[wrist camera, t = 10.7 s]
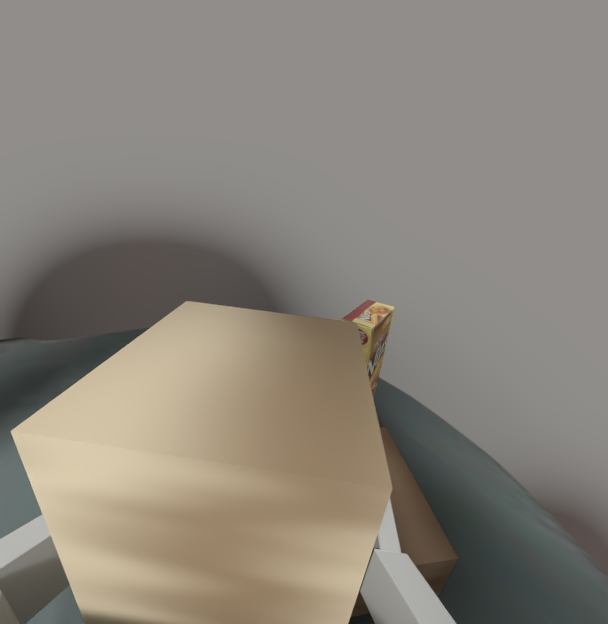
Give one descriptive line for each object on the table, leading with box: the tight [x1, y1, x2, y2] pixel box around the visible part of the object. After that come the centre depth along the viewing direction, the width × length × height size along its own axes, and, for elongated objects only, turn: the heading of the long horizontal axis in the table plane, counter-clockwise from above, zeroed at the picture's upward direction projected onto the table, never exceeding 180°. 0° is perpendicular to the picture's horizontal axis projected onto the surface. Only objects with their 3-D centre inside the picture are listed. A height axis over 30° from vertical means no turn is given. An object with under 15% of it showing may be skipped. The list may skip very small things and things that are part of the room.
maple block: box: [11, 301, 393, 624], centre depth 8 cm, size 5×5×11 cm
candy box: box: [341, 300, 394, 399], centre depth 38 cm, size 9×4×15 cm, turn 148°
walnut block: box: [351, 427, 459, 617], centre depth 25 cm, size 12×12×6 cm
